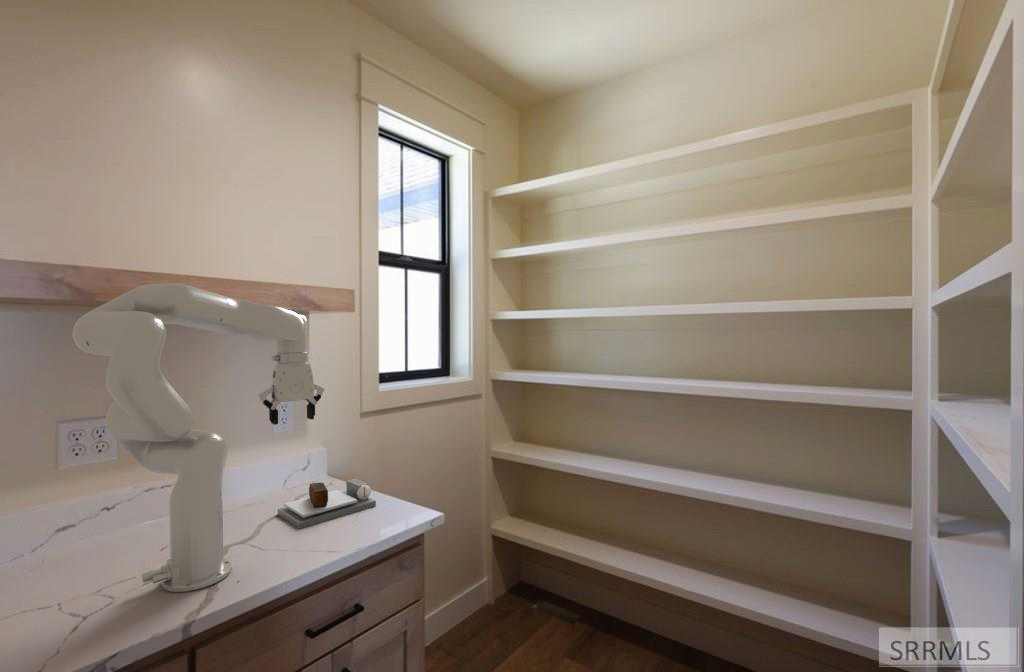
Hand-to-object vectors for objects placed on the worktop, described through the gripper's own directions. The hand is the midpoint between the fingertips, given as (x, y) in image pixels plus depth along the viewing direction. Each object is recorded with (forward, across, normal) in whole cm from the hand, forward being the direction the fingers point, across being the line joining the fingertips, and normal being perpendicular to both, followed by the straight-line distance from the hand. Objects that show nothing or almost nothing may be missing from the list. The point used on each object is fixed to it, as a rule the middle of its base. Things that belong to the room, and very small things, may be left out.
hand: (292, 421), depth 131 cm
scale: (+28, +11, +3) cm, 31 cm away
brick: (+26, +8, +3) cm, 27 cm away
